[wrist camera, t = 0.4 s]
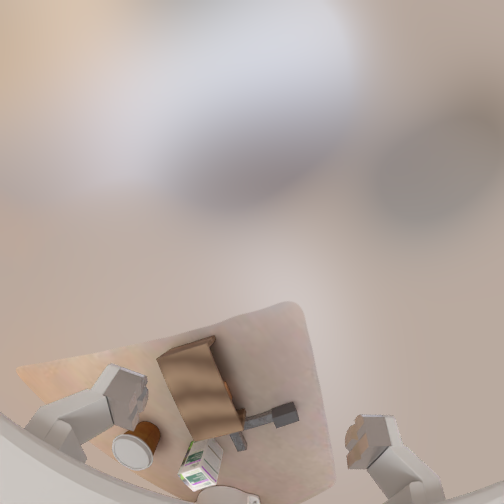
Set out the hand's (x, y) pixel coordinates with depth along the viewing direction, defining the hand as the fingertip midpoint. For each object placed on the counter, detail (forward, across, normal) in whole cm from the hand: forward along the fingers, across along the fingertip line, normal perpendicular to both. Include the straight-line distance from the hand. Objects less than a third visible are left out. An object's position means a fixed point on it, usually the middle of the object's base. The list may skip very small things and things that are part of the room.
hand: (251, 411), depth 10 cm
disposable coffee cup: (+30, -18, -57) cm, 67 cm away
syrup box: (+30, -3, -56) cm, 63 cm away
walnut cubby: (+38, -6, -40) cm, 55 cm away
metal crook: (+34, +8, -47) cm, 59 cm away
